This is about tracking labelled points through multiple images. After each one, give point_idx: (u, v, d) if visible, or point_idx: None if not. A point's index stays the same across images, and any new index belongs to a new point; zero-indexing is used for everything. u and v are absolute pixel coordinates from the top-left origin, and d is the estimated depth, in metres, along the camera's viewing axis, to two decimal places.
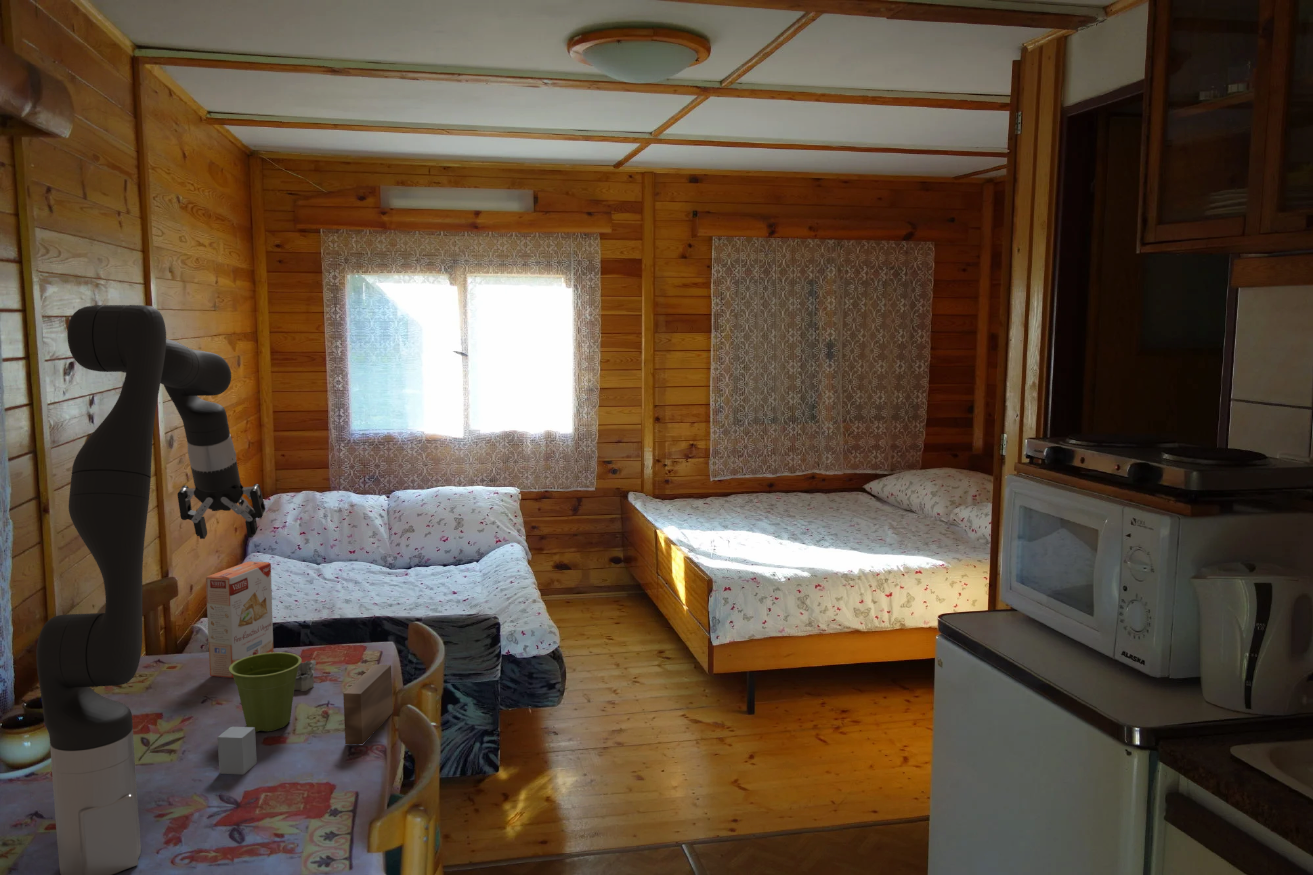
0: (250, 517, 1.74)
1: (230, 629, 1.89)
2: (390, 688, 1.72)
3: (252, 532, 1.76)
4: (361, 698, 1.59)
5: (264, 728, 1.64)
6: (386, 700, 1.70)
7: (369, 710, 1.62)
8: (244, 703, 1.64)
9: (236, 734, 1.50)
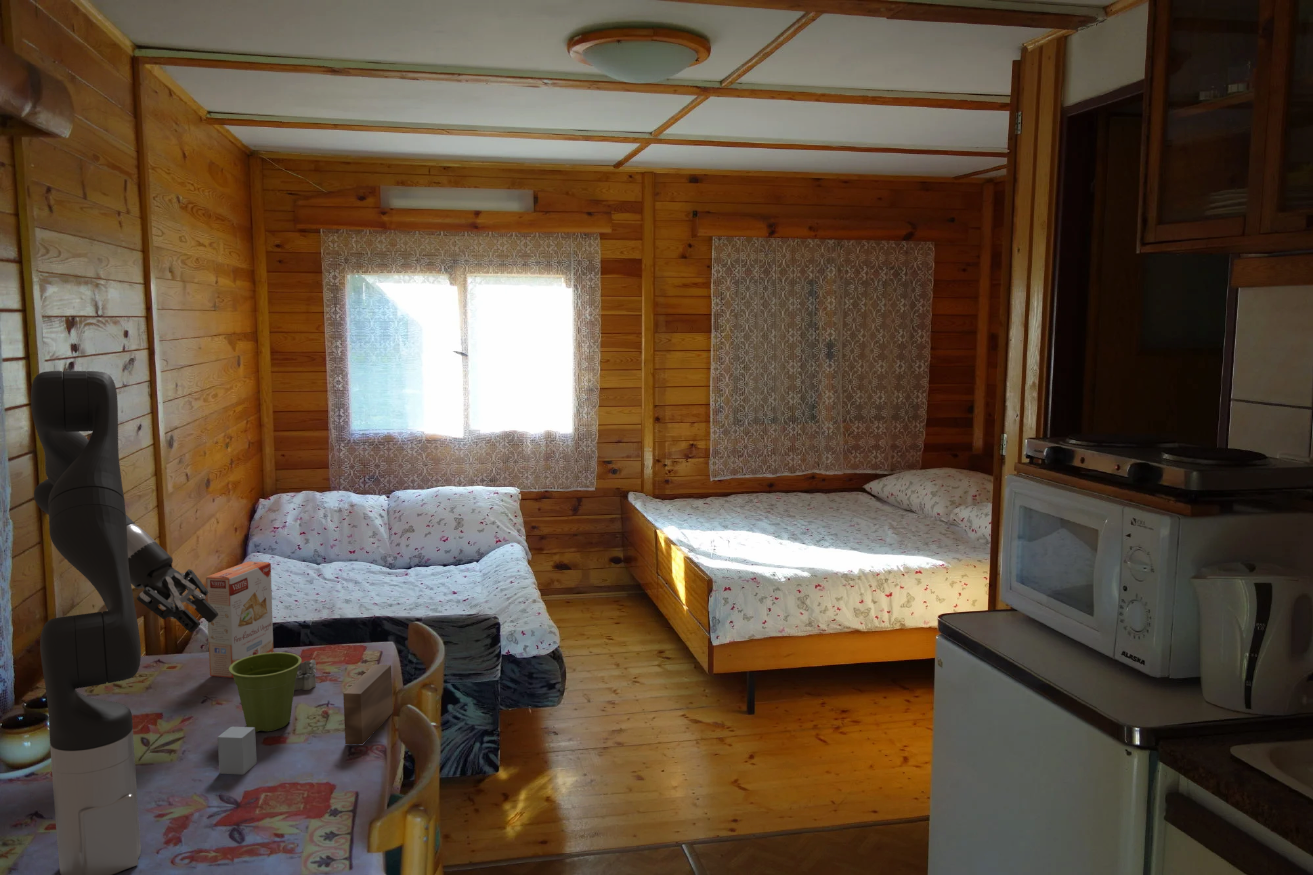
0: (202, 594, 1.70)
1: (230, 629, 1.89)
2: (390, 688, 1.72)
3: None
4: (361, 698, 1.59)
5: (264, 728, 1.64)
6: (386, 700, 1.70)
7: (369, 710, 1.62)
8: (244, 703, 1.64)
9: (236, 734, 1.50)
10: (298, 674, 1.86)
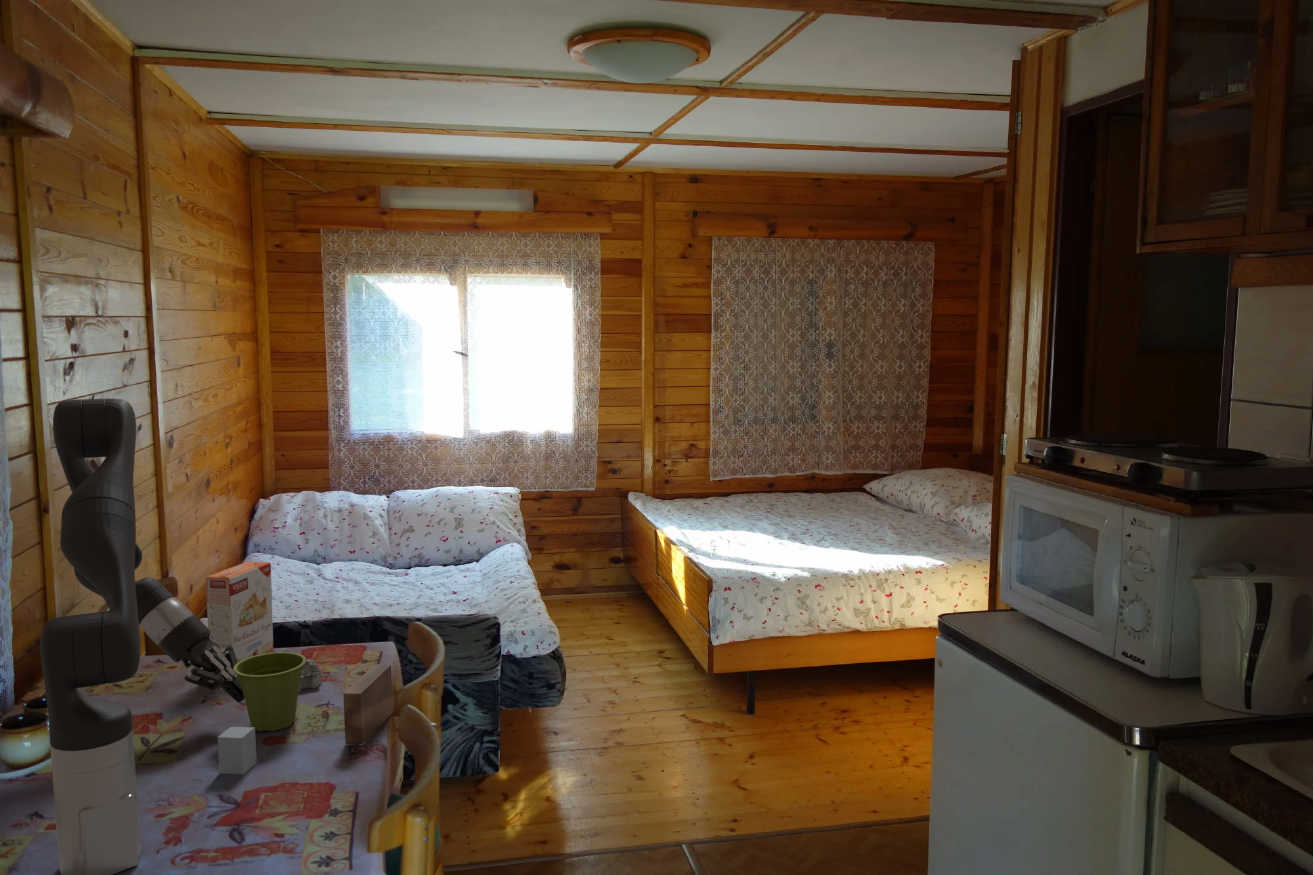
0: (234, 672, 1.68)
1: (230, 629, 1.89)
2: (390, 688, 1.72)
3: None
4: (361, 698, 1.59)
5: (269, 728, 1.64)
6: (386, 700, 1.70)
7: (369, 710, 1.62)
8: (248, 703, 1.64)
9: (236, 734, 1.50)
10: (303, 673, 1.86)
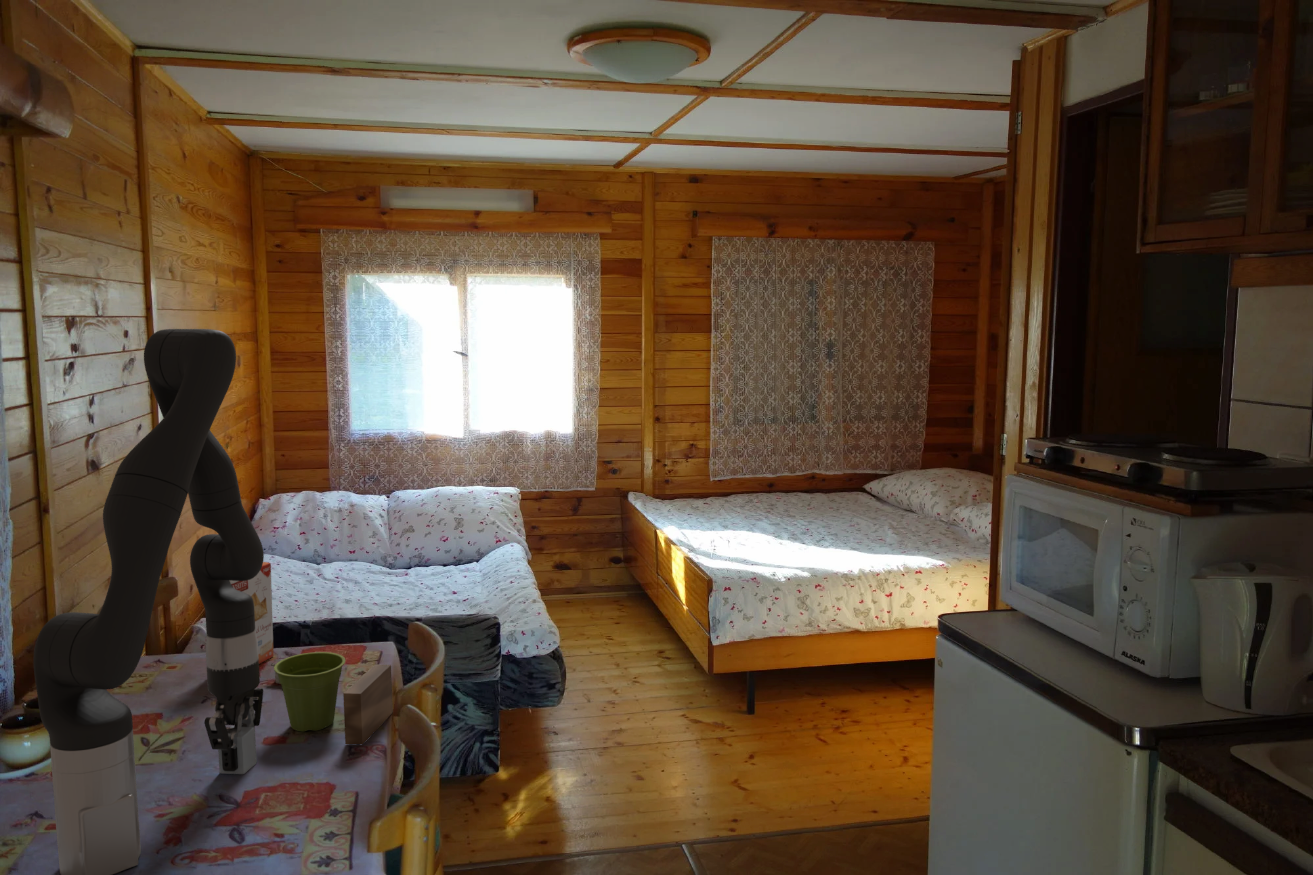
0: None
1: None
2: (390, 688, 1.72)
3: None
4: (361, 698, 1.59)
5: (312, 727, 1.64)
6: (386, 700, 1.70)
7: (369, 710, 1.62)
8: (291, 703, 1.63)
9: None
10: None
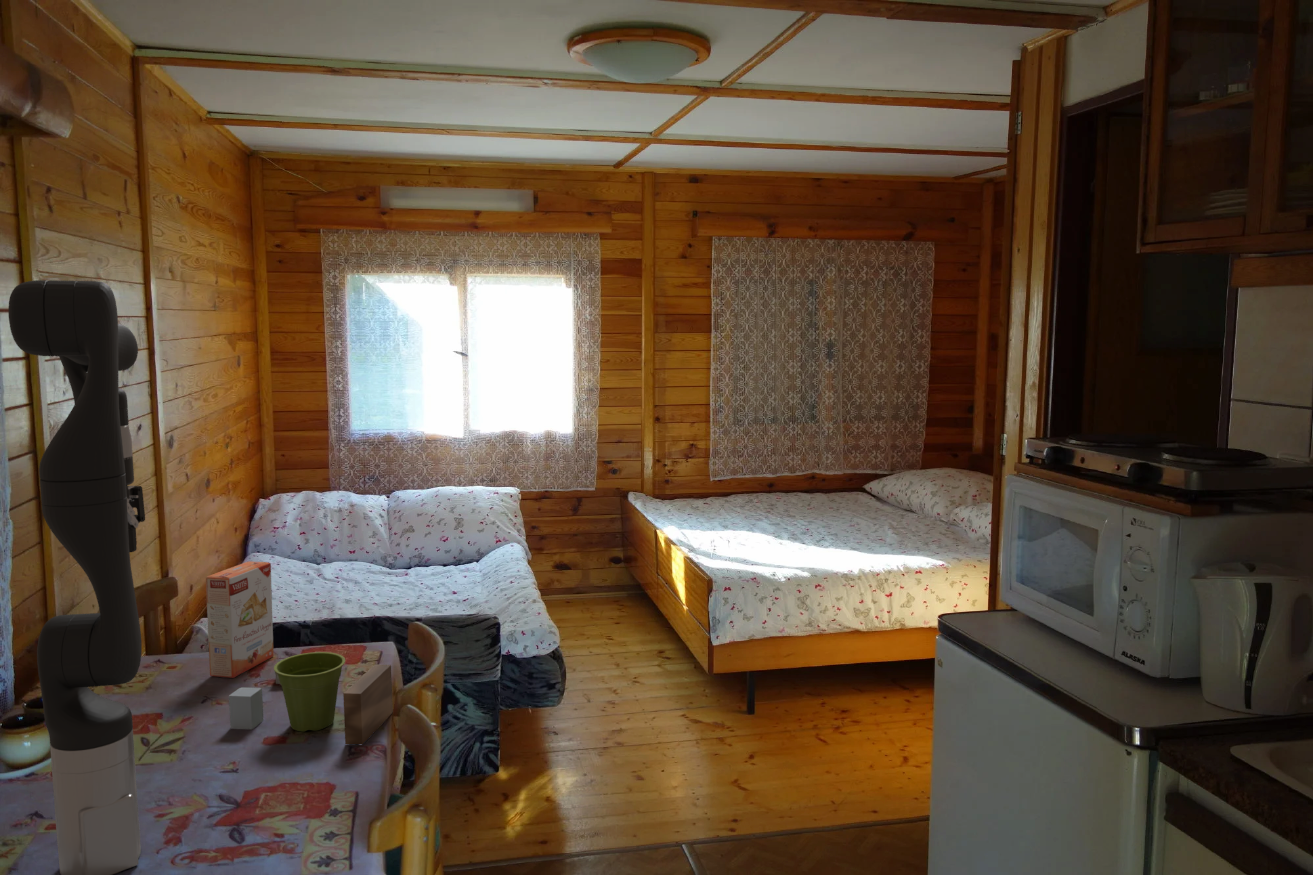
0: (137, 522, 1.52)
1: (230, 629, 1.89)
2: (390, 688, 1.72)
3: None
4: (361, 698, 1.59)
5: (312, 727, 1.64)
6: (386, 700, 1.70)
7: (369, 710, 1.62)
8: (291, 703, 1.63)
9: (245, 693, 1.67)
10: None
